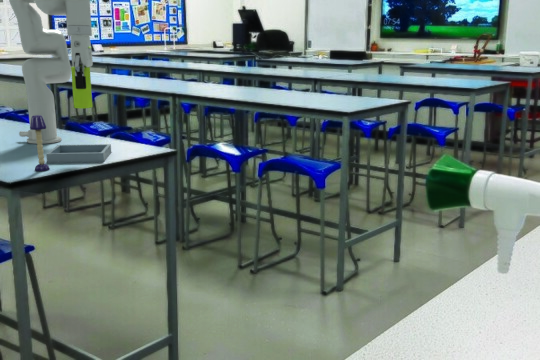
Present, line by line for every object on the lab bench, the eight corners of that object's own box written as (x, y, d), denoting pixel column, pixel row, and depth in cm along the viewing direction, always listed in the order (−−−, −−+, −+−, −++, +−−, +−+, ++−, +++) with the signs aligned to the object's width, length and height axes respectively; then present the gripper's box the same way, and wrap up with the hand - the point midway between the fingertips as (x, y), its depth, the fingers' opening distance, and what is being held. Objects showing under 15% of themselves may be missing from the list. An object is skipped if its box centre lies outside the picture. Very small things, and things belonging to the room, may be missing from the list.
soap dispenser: (89, 108, 196) (85, 45, 191) (70, 108, 197) (65, 45, 192) (98, 106, 201) (94, 45, 196) (79, 105, 203) (75, 45, 198)
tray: (46, 162, 194) (46, 153, 193) (58, 153, 210) (57, 145, 209) (103, 162, 196) (103, 153, 195) (111, 152, 211) (110, 144, 211)
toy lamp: (30, 170, 183) (25, 116, 179) (41, 167, 188) (36, 114, 184) (43, 171, 182) (38, 116, 178) (53, 168, 186) (49, 115, 182)
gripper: (86, 31, 185) (89, 90, 190) (96, 31, 202) (99, 85, 206) (61, 31, 185) (65, 90, 189) (73, 31, 201) (77, 85, 206)
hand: (83, 87), depth 198 cm, fingers closed on soap dispenser, 6 cm apart
